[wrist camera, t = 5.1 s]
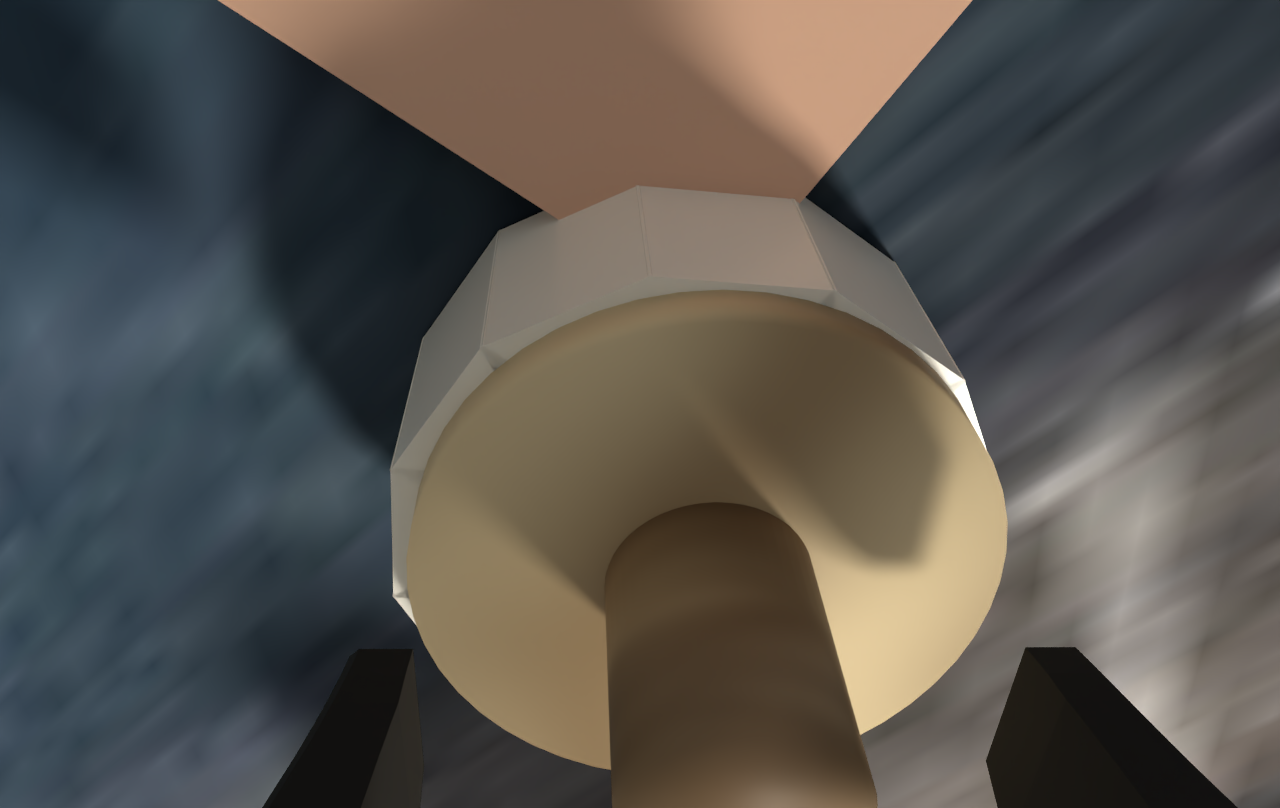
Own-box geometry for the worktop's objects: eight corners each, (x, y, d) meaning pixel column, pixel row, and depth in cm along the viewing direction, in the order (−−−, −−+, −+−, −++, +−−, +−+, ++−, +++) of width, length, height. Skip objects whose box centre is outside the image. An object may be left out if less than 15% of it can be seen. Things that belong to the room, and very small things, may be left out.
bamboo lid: (1076, 330, 13) (1270, 567, 9) (892, 750, 17) (977, 1027, 14) (431, 250, 12) (367, 482, 8) (402, 717, 16) (351, 1007, 13)
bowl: (1028, 358, 18) (1119, 487, 15) (714, 658, 21) (737, 810, 18) (617, 59, 14) (628, 145, 12) (330, 467, 18) (283, 612, 15)
